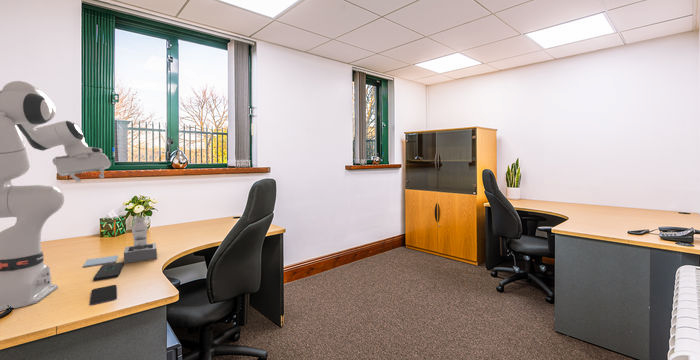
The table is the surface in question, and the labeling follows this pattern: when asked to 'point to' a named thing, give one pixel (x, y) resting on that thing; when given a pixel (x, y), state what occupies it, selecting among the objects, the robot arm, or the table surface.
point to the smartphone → (103, 294)
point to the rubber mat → (100, 261)
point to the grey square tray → (140, 253)
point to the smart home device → (109, 271)
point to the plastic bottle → (139, 234)
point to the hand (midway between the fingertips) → (90, 179)
